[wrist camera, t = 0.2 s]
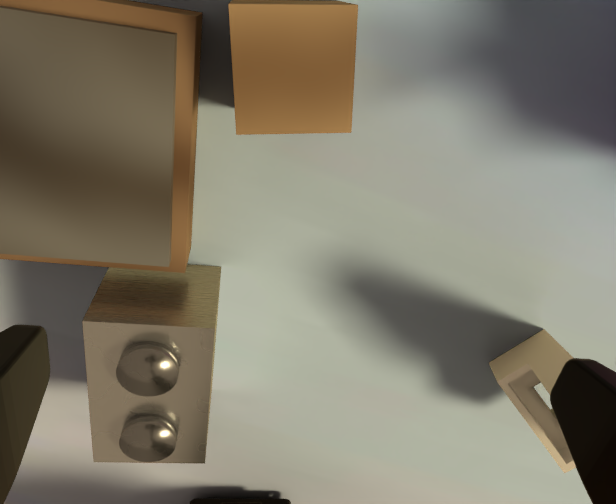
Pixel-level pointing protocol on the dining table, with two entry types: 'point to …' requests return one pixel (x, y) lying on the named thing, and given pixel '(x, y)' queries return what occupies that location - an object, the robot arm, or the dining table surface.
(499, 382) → the electrical outlet
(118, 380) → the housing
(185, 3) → the dining table surface
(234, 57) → the oak block
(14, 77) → the stand
